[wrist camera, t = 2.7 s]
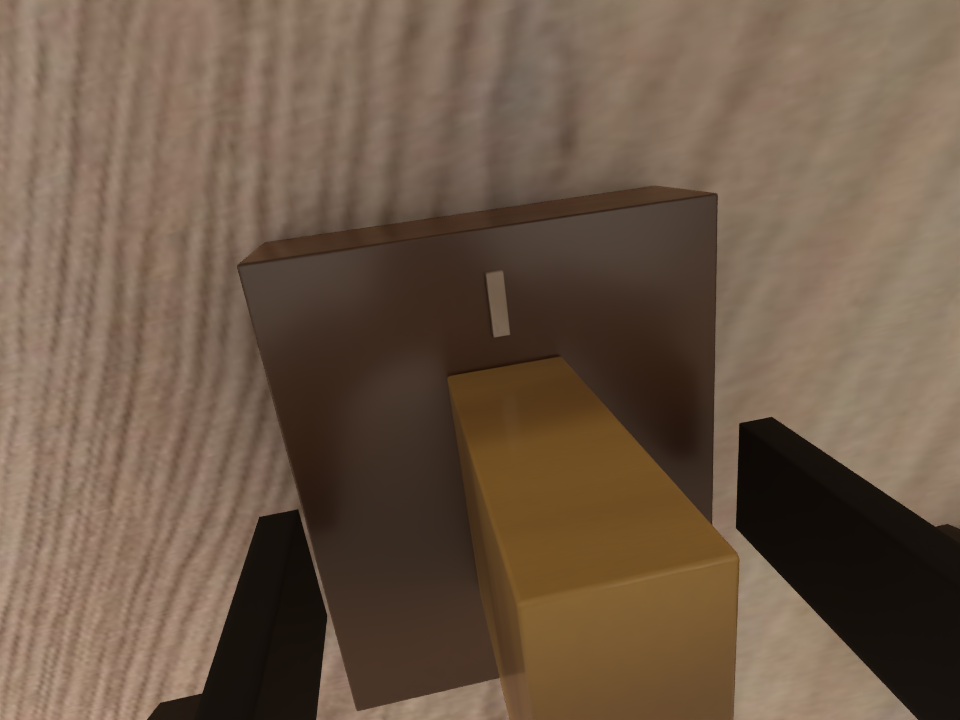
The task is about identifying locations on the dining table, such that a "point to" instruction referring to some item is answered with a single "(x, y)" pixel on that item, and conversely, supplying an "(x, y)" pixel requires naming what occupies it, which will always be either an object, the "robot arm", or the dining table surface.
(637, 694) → the thumbturn
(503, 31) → the dining table surface
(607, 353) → the plate
